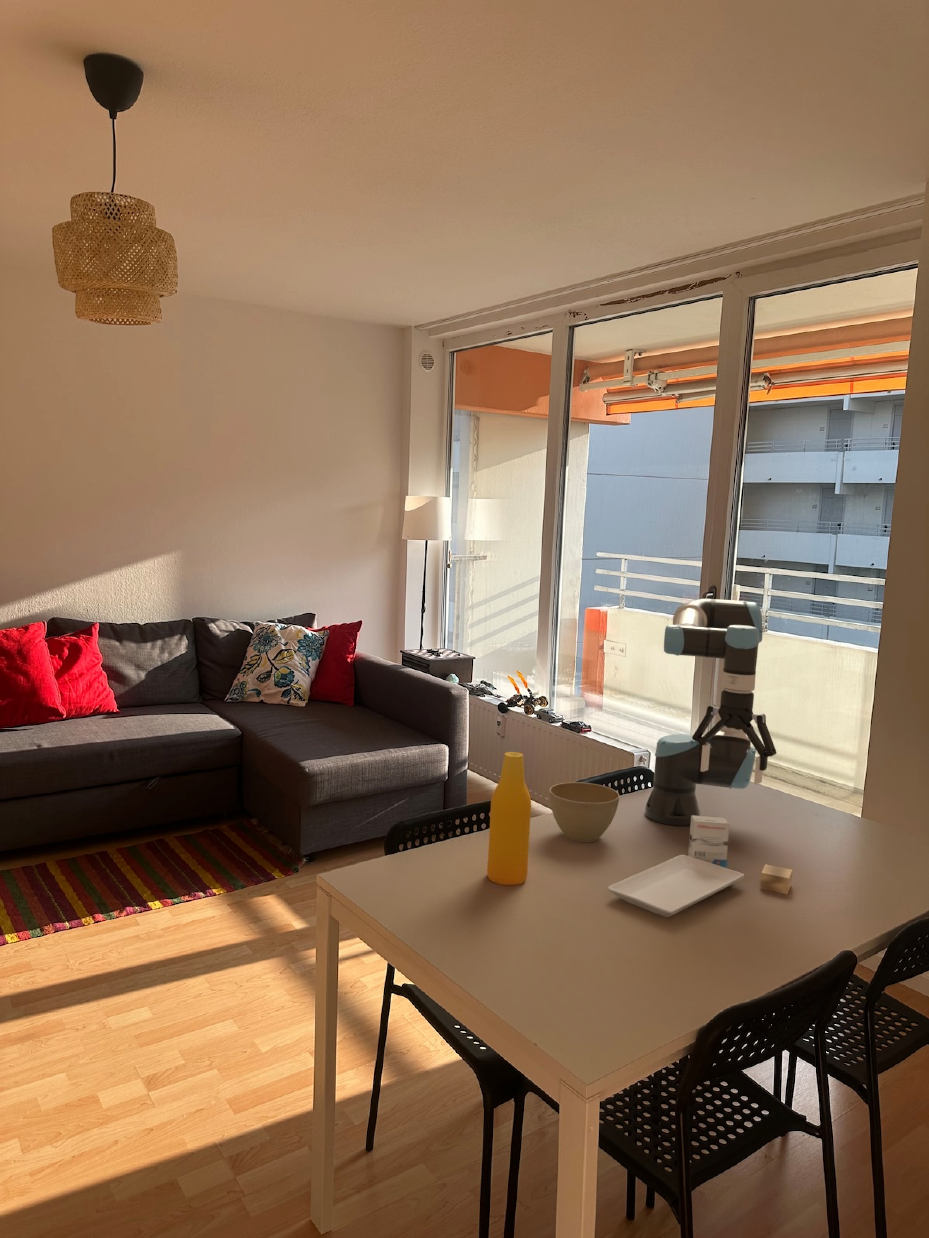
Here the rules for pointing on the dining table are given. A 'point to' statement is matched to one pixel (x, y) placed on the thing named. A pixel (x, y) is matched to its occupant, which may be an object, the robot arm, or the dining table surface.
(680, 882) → the tray
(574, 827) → the beige round bowl
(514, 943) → the dining table surface
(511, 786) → the beer bottle
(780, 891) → the oak block
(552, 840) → the dining table surface
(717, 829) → the ink box
